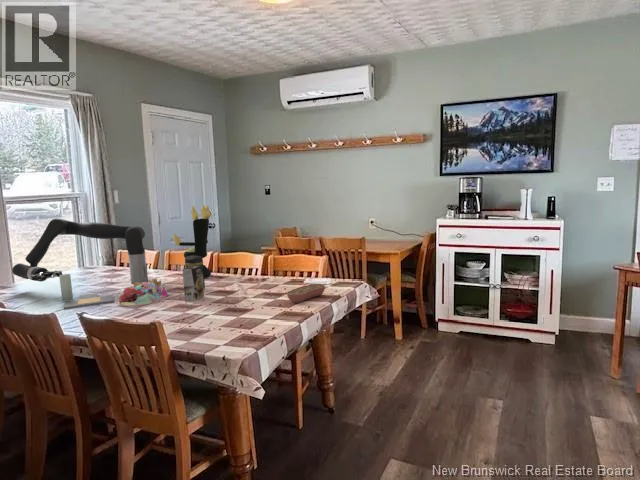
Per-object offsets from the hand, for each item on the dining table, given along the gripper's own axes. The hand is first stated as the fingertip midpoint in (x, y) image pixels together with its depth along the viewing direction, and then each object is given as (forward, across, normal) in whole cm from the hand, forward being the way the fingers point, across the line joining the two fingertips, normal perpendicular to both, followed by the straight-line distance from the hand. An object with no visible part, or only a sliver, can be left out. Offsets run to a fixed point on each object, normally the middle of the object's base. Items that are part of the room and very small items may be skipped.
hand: (53, 276), depth 239 cm
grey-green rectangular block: (+12, 0, +11) cm, 16 cm away
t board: (+25, +4, +11) cm, 28 cm away
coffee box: (+74, +30, +10) cm, 80 cm away
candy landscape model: (+49, +19, +11) cm, 54 cm away
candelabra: (+37, +68, +10) cm, 78 cm away
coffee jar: (+59, +45, +10) cm, 75 cm away
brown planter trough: (+126, +53, +9) cm, 137 cm away
